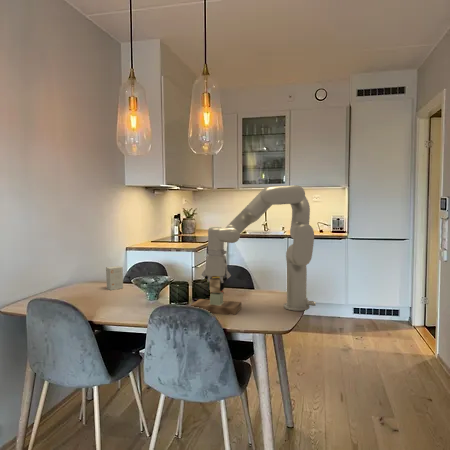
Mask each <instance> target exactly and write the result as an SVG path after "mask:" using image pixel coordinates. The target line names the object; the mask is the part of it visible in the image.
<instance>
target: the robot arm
mask: <svg viewBox="0 0 450 450" xmlns="http://www.w3.org/2000/svg"><path fill="white" fill-rule="evenodd" d="M273 205H274V206H275V205H277V206H279V205H290V206H291V221H290V227H289V228H290V230H289V233H290V237H291V239H293V243H292V244H290V245H289V246H288V247H287V249H286V252H285V260H286V302H285V303H284V304H283V308H284V309H286V310H289V311H293V312H294V311H295V312H297V311H298V312H304V311H307V310H309V309H310V306H311V307H312V306H313V307H315V306H316V301H314V300H309V298H308V297H307V277H308V276H307V272H308V271H307V265H308V264H310V262H311V260H312V258H313V251H314V244H315V243H314V242H315V232H314V231H315V230H314V228H313V227H312V226H311V225H310V219H311V218H310V216H311V215H310V214H311V207H310V202H309V200H308V198H307V197H306V191H305V189H304V188H303V187H302V186H300V185H297V184H294V185H293V184H292V185H283V186H282V185H281V186H280V185H279V186H266V187H264V188H263V189H262V190H260V191H259V192H258V194H257V195H256V196H255V197H254V198H253V199H252V200H251V201H250V202H249V203H248V205H246V206H245V207H244V208H243V209H242V210H241V211H240V212H239V214H237V215H236V216H235V217H234V218H233V219H232V221H230V222H229V223H228V224H227V226H226V227H225V228H224V227H223V228H222V227H221V226H220V227H219V226H214V227H213V226H212V227H211V226H210V227H209V228H208V229H207V255H206V260H205V269H204V270H203V272H202V273H201V276H202V277H203V278H204V280H205V279H206V280H207V282H208V288H209V290H210V279H212V276H215V277H220V280H221V283H220V291H222V290H223V291H224V289H225V283H226V281H227V280H228V279H229V278H230V277H231V276H232V275H231V273H230V272H229V271H228V264H227V263H228V261H227V257H226V255H225V254H228V252H227V250H225V247H224V245H225V244H224V243H229V244H235V243H237V242H238V241H239V240H240V237H241V233H242V232H244V230H245V229H247V228H248V227H249V226H250V225H251V224H253V223H256V221H257V222H258V220H259V219H260V218H261V217H262V216H263V215H264V214H265V213H266V212H267V211H268V210H269V209H270V208H271V207H272V206H273Z"/></svg>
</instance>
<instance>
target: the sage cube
mask: <svg viewBox="0 0 450 450" xmlns="http://www.w3.org/2000/svg"><path fill="white" fill-rule="evenodd" d="M223 292H224V291H223ZM223 292H220V293H216V292H212V293H211V294H210V296H209V300H210V304H213V305H221V304H222V303H223V301H224V293H223Z"/></svg>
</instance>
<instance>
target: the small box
mask: <svg viewBox="0 0 450 450" xmlns="http://www.w3.org/2000/svg"><path fill="white" fill-rule="evenodd" d="M105 274H106V276H105V277H106V280H105V281H106V289H107V290H109V291H114V290H119V289H124V273H123V266H121V265H115V266H107V267H105Z"/></svg>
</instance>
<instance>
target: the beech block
mask: <svg viewBox="0 0 450 450" xmlns="http://www.w3.org/2000/svg"><path fill="white" fill-rule="evenodd" d="M220 283H221V280H220V278H212V279H210V292H216V293H220V292H221V291H220Z"/></svg>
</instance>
